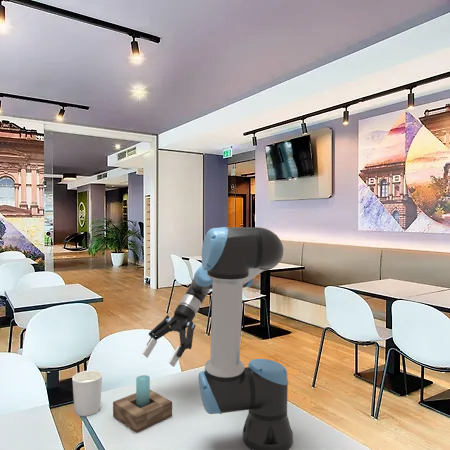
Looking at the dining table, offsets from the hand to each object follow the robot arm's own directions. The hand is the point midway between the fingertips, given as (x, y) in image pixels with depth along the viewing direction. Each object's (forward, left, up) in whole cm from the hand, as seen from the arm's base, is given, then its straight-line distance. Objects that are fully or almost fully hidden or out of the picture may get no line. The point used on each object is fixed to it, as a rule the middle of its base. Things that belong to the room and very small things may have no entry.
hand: (157, 360), depth 136 cm
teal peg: (-1, +7, -16) cm, 17 cm away
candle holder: (+16, +18, -17) cm, 29 cm away
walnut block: (-1, +7, -17) cm, 18 cm away
